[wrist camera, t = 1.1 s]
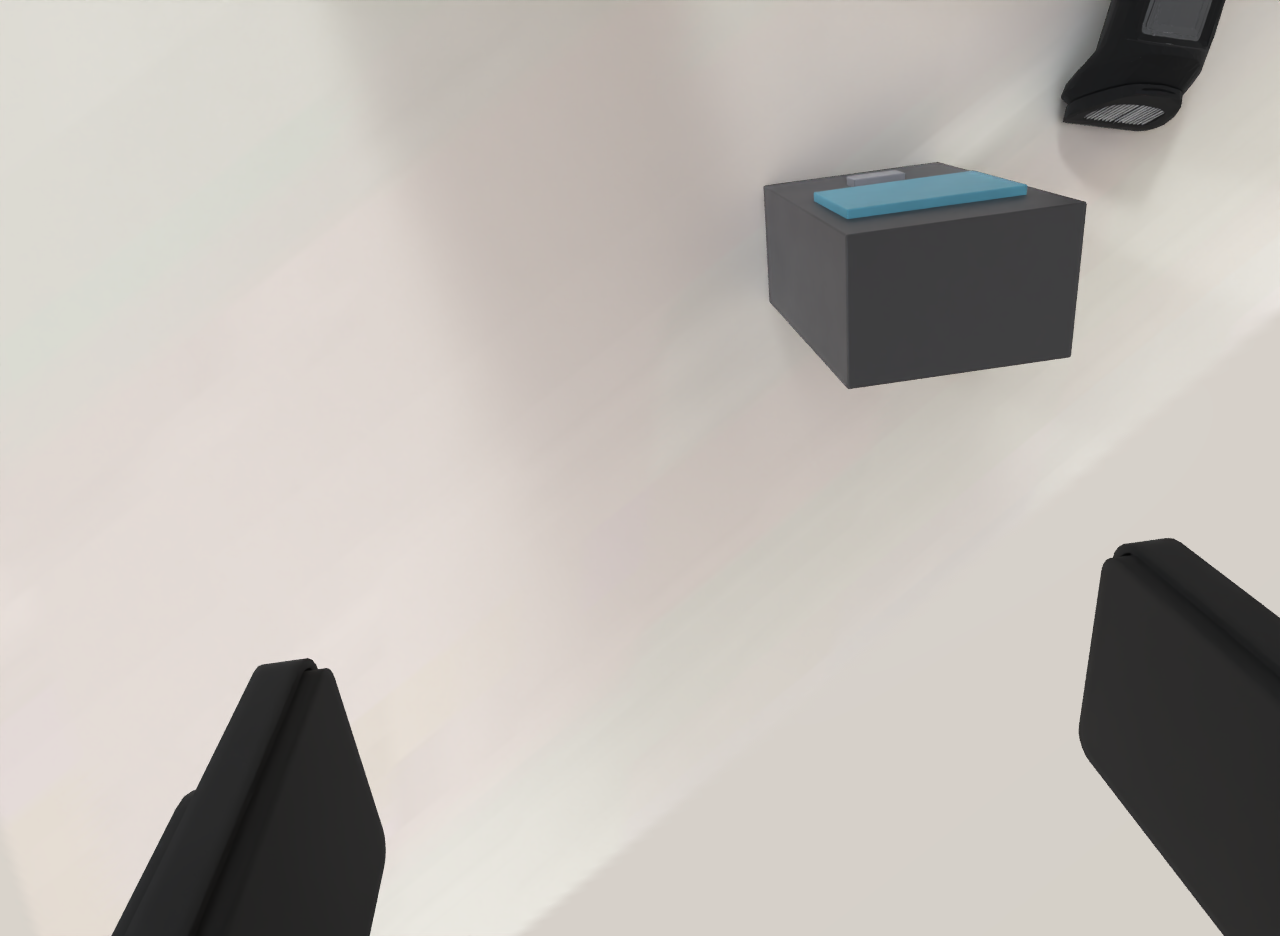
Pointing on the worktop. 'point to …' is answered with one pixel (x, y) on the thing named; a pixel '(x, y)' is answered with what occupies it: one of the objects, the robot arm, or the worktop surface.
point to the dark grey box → (924, 271)
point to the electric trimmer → (1142, 63)
